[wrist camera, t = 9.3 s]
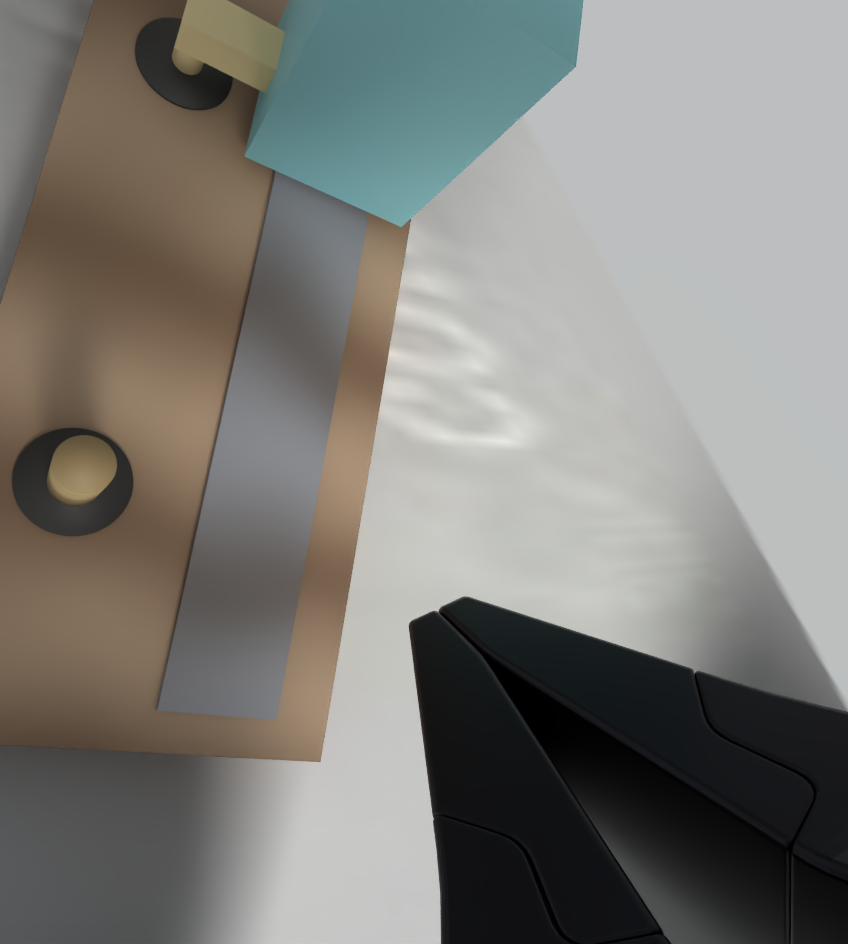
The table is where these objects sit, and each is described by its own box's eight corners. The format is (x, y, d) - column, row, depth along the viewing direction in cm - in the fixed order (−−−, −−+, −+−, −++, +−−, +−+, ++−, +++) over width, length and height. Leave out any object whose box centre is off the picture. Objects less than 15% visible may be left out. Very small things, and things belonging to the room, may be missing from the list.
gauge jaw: (401, 227, 22) (576, 66, 15) (155, 116, 19) (235, -156, 12) (419, 117, 23) (592, -82, 16) (188, -7, 20) (281, -326, 13)
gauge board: (295, 747, 21) (367, 790, 16) (-118, 721, 16) (-166, 771, 12) (406, 110, 26) (484, 16, 22) (116, -46, 21) (141, -205, 17)
